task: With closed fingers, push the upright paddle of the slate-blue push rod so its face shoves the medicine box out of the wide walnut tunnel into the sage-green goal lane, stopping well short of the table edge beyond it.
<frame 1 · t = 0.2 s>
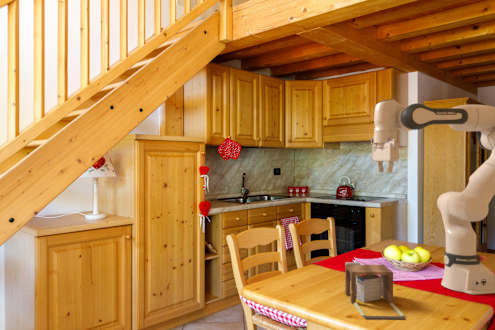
hand: (385, 172, 157), 47 cm above the table, fingers open, 8 cm apart
goal lane: (378, 310, 132), on the table
medicine box: (368, 299, 143), on the table
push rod: (357, 276, 159), point 4 cm above the table, slide at 0.0 cm
tunnel: (368, 298, 144), on the table
edge warning mat: (384, 318, 126), on the table
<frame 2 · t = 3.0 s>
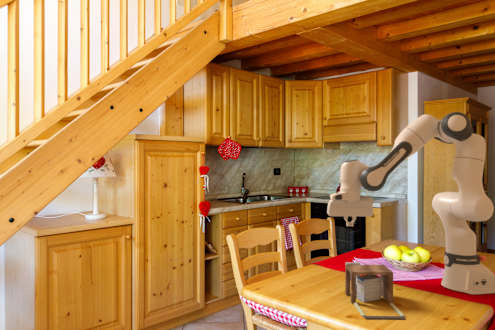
hand: (349, 226, 171), 23 cm above the table, fingers closed
nothing on the table moved.
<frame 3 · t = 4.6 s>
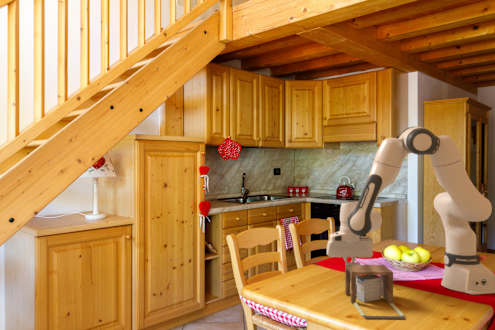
hand: (349, 266, 171), 4 cm above the table, fingers closed
nothing on the table moved.
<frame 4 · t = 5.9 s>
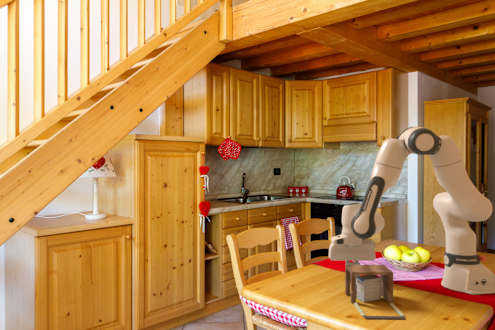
hand: (351, 270, 169), 4 cm above the table, fingers closed
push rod: (357, 276, 159), point 4 cm above the table, slide at 0.1 cm, touching gripper
everything else where it was.
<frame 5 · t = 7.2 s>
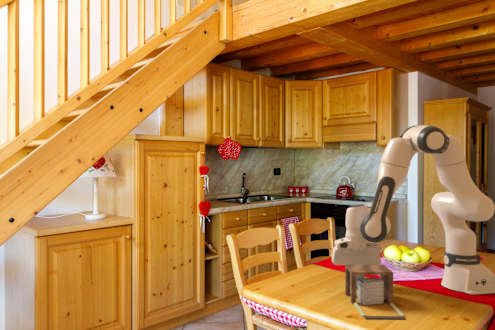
hand: (356, 275, 162), 4 cm above the table, fingers closed
medicine box: (370, 303, 139), on the table, touching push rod
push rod: (362, 282, 151), point 4 cm above the table, slide at 7.3 cm, touching gripper, medicine box
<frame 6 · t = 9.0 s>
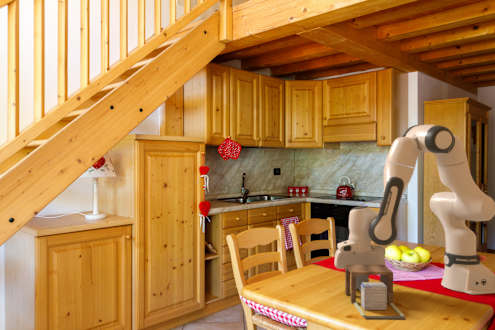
hand: (359, 279, 156), 4 cm above the table, fingers closed, pressing on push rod
medicine box: (373, 308, 135), on the table
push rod: (366, 286, 146), point 4 cm above the table, slide at 13.0 cm, touching gripper
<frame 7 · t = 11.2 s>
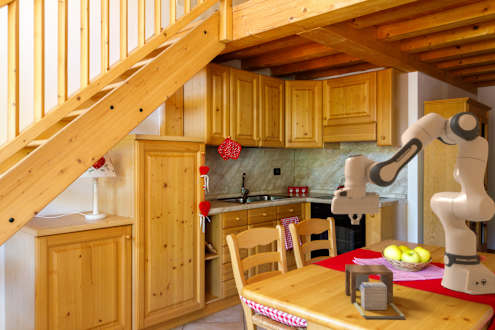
hand: (355, 224, 164), 25 cm above the table, fingers closed
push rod: (366, 286, 146), point 4 cm above the table, slide at 13.0 cm
everything else where it was.
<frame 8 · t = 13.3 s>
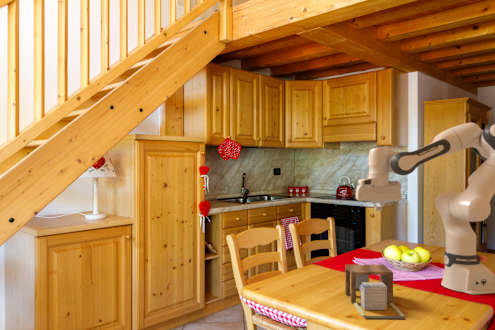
hand: (378, 210, 175), 29 cm above the table, fingers closed
nothing on the table moved.
at the end: medicine box inside the target area (2.6 cm from its centre), on the table; medicine box tilted 0° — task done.
